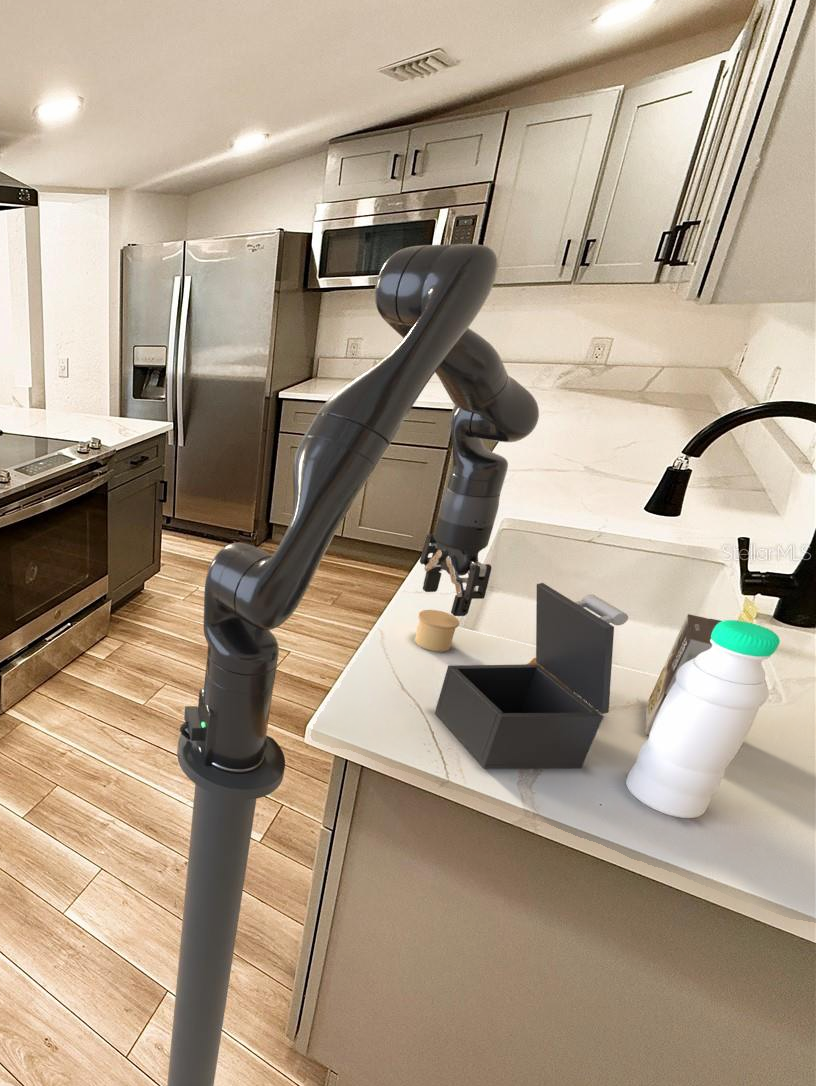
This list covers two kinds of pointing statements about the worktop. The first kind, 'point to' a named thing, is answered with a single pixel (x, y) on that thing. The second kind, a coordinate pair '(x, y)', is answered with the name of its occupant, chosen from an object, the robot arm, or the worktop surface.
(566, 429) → the worktop surface
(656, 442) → the worktop surface
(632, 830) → the worktop surface
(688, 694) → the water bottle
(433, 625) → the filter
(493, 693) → the hinged dark box
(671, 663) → the coffee box
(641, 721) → the worktop surface
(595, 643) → the lid
